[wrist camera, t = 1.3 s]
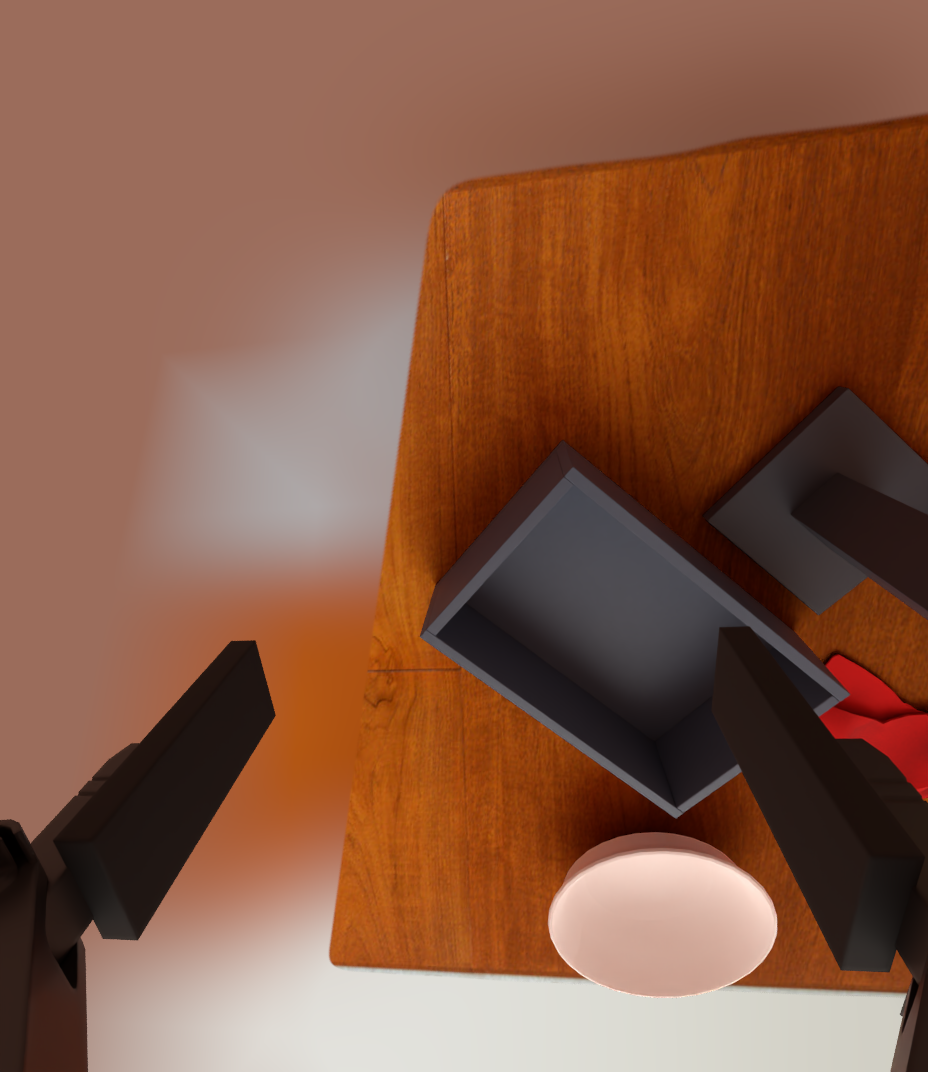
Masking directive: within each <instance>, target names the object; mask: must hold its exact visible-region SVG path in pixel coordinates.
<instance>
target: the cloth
mask: <svg viewBox="0 0 928 1072" xmlns="http://www.w3.org/2000/svg"><path fill="white" fill-rule="evenodd" d="M825 666H826V667H827V668H828V670H829V671H830V672H831V673H832V674H833V675H834V676H835V677H836V678H837V680H838V681H839V682H840V683H841V684H842V685H843V686H844V687H845V689H846V690H847V691H848V692H849V693H850V695H849V696H848V697H847V698H845V699H844V700H842V701H840V702H839V703H838V704H836V705H835V706H833V707H832V708H831V709H829V710H828V711H826V712H825V713H824V714H822V715H821V716H819V718H820V719H821V721H822V722H823V723H824V725H825V726H826V727H827V729H828V730H829V731H830V732H831V734H832V735H833V736H834V738H835V739H859V738H862V739H864V740H865V741H866V742H868V743H869V744H871V745H872V746H874V747H875V748H876V749H878V750H879V751H881V752H882V753H884V754H885V755H886V756H888V757H889V758H890V759H891V761H892V762H893V763H894V764H895V765H896V766H897V768H898V769H899V770H900V771H901V772H902V773H903V775H904V776H905V777H906V778H907V782H908V783H911V784H912V785H913V786H914V788H915V789H916V790H917V791H918V792H919V793H920V795H921V796H922V798H928V713H925V712H922V711H919V710H916V709H915V708H913V707H912V706H910V705H909V704H907V703H903V702H902V701H901V700H900V699H899V698H898V696H897V695H896V694H895V693H894V692H893V691H892V690H891V689H890V688H889V687H888V686H886V685H885V684H884V683H883V682H882V681H881V680H880V679H878V678H877V677H875V676H874V675H872V674H871V673H869V672H868V671H866V670H865V669H863V668H862V667H861V666H859V665H858V664H856V663H854V662H852V661H850V660H848V659H846V658H844V657H843V656H841V655H839V654H836V655H834V656H832V657H831V658H830V659H829V661H828V662H827V663H826V664H825Z"/></svg>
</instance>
